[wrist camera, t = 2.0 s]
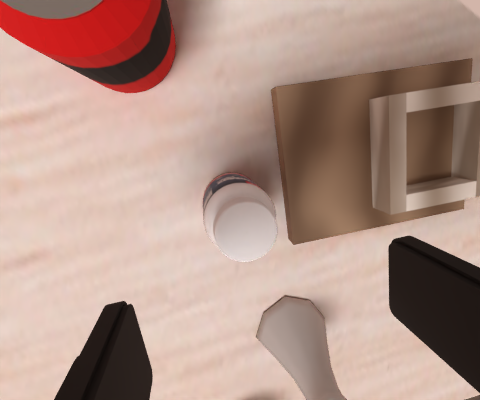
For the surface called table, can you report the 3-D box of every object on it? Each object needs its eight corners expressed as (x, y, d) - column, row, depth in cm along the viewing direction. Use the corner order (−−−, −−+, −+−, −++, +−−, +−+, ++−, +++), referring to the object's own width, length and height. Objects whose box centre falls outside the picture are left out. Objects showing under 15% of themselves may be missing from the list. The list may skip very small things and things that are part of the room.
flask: (243, 338, 29) (266, 439, 19) (282, 284, 28) (325, 361, 18) (296, 362, 31) (341, 466, 21) (333, 312, 30) (397, 396, 20)
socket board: (456, 62, 25) (502, 49, 22) (450, 205, 29) (489, 215, 25) (271, 89, 23) (285, 81, 20) (288, 238, 27) (303, 256, 23)
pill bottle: (264, 178, 25) (298, 200, 17) (252, 230, 26) (278, 276, 18) (208, 166, 24) (213, 183, 16) (197, 222, 25) (197, 266, 17)
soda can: (175, 98, 22) (150, 58, 11) (76, 89, 21) (-69, 33, 10) (176, -6, 21) (149, -183, 9) (69, -23, 20) (-115, -249, 8)
